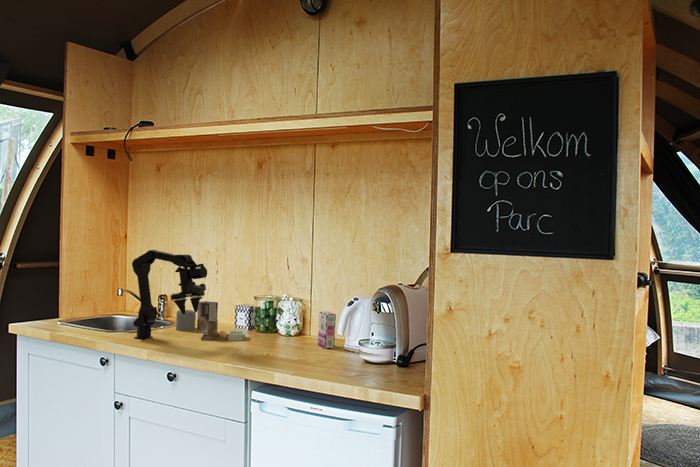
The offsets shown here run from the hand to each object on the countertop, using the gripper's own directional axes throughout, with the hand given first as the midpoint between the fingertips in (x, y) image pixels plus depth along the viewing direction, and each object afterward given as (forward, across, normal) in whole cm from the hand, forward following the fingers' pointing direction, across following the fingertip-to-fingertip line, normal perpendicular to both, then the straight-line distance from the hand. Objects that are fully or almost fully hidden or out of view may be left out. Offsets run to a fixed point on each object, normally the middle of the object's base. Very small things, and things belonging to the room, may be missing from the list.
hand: (190, 313), depth 250 cm
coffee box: (+12, +30, +13) cm, 35 cm away
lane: (+15, +17, -2) cm, 22 cm away
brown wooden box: (+14, +16, 0) cm, 21 cm away
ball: (+13, +18, -4) cm, 23 cm away
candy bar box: (+25, +24, -57) cm, 67 cm away
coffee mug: (+10, +33, +27) cm, 44 cm away
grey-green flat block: (+16, +22, -10) cm, 29 cm away
